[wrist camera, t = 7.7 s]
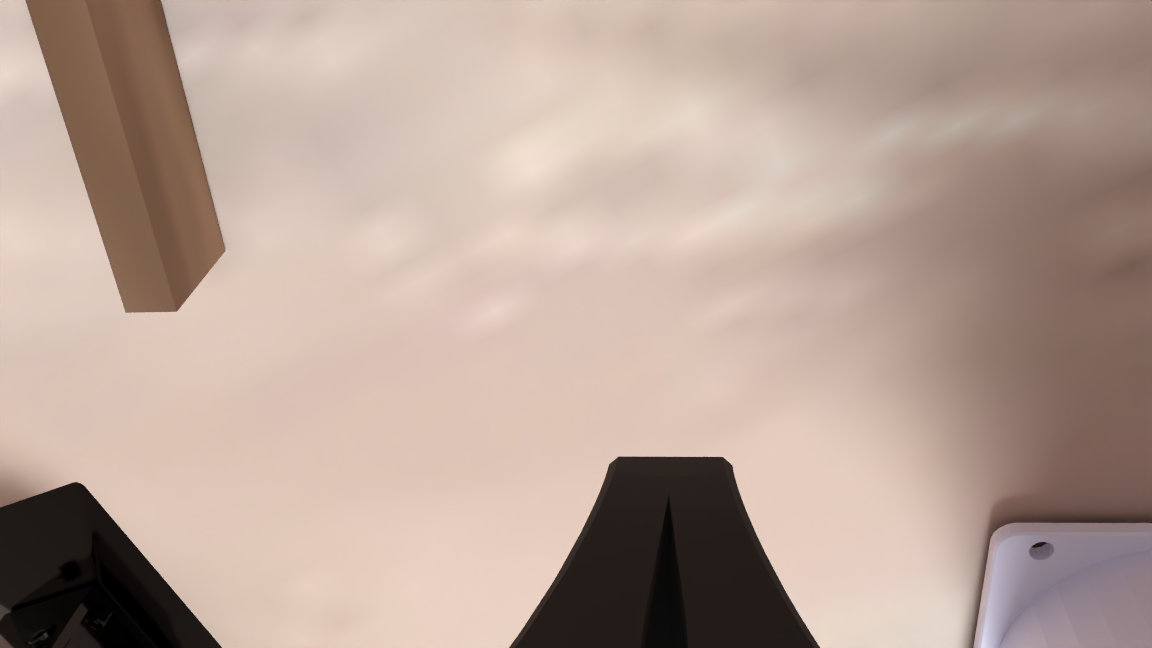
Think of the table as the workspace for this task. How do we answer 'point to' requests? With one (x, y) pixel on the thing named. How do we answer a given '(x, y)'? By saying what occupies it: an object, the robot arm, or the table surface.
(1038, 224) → the table surface
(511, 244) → the table surface
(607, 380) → the table surface
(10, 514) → the black angled piece
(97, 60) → the box
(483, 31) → the table surface
